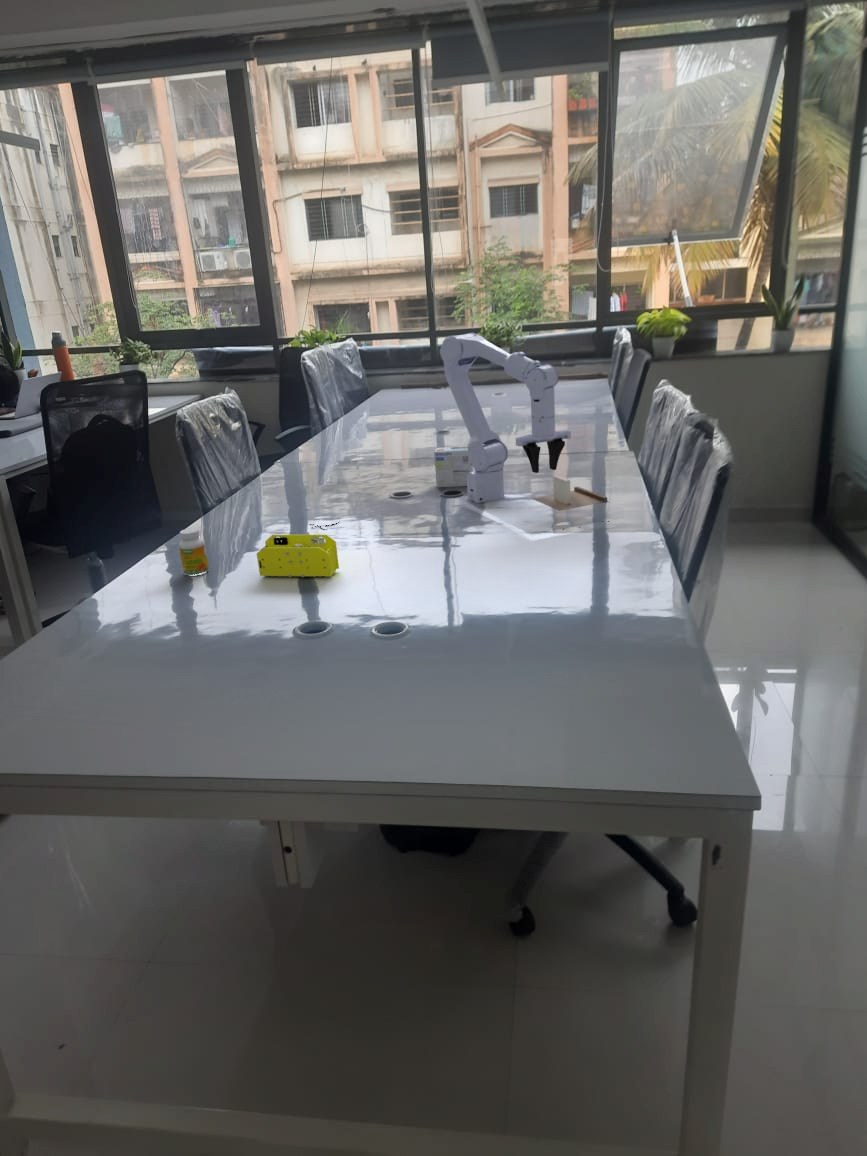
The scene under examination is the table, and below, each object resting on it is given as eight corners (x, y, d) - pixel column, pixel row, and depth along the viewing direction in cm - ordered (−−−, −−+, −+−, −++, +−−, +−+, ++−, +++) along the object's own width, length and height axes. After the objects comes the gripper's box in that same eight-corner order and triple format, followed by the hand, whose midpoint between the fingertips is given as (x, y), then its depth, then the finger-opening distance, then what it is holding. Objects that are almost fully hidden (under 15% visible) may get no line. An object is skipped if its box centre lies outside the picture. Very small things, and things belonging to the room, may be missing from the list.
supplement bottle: (184, 578, 171) (175, 535, 168) (184, 571, 176) (176, 529, 172) (209, 574, 172) (201, 532, 169) (209, 567, 177) (201, 525, 174)
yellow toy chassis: (340, 571, 169) (335, 533, 166) (331, 580, 164) (326, 542, 161) (270, 570, 173) (265, 534, 170) (259, 579, 167) (254, 542, 164)
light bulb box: (473, 480, 236) (471, 445, 232) (472, 486, 230) (470, 449, 226) (438, 482, 237) (435, 446, 234) (436, 488, 231) (433, 451, 227)
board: (559, 514, 196) (559, 506, 195) (531, 502, 208) (531, 494, 207) (607, 505, 201) (607, 497, 200) (577, 494, 213) (577, 486, 212)
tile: (565, 504, 200) (565, 480, 198) (553, 499, 206) (553, 476, 204) (571, 503, 201) (570, 479, 199) (558, 498, 206) (558, 475, 204)
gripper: (524, 422, 188) (526, 478, 193) (577, 414, 193) (577, 469, 197) (510, 418, 194) (512, 472, 199) (562, 411, 199) (562, 464, 204)
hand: (544, 470), depth 199 cm, fingers open, 4 cm apart
